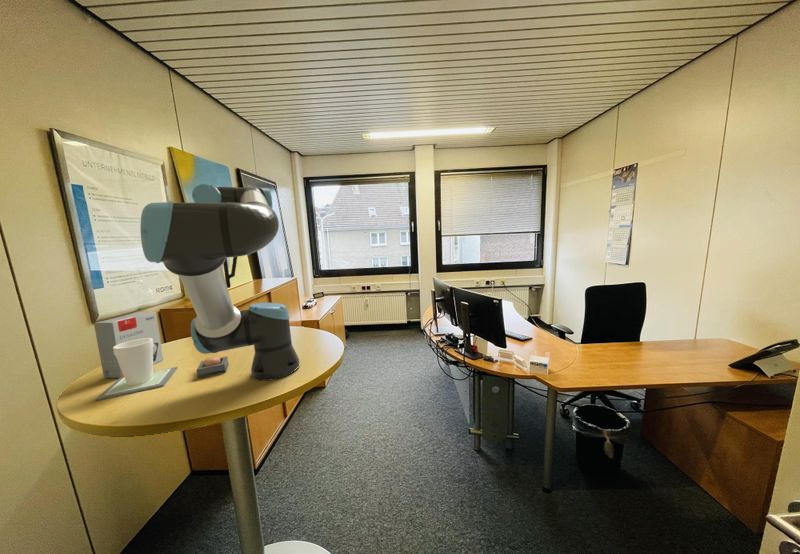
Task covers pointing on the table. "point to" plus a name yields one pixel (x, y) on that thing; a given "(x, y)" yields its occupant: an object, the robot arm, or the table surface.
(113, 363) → the hard drive box
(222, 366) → the button housing
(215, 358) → the button
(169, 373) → the picture board
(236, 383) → the table surface
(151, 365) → the foam cup
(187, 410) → the table surface
